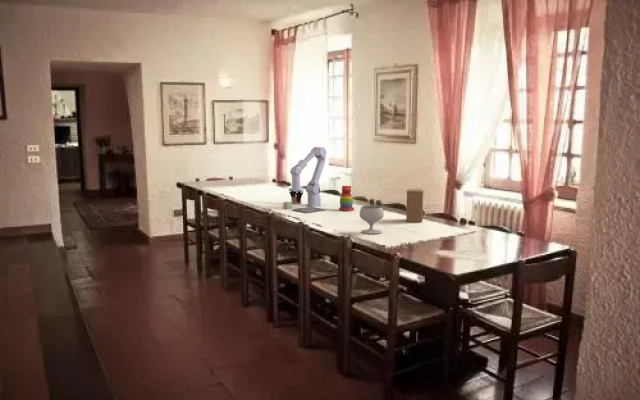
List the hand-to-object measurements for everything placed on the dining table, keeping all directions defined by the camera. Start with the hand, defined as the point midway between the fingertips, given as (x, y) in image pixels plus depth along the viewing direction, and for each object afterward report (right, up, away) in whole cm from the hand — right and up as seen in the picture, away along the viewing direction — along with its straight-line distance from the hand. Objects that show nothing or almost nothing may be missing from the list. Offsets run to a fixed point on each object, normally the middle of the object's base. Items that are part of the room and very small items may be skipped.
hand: (296, 201), depth 412 cm
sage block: (-6, -5, -5) cm, 9 cm away
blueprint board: (+9, -6, -11) cm, 16 cm away
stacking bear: (+36, -6, -11) cm, 38 cm away
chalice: (+47, -18, -85) cm, 99 cm away
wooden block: (+78, -12, -51) cm, 94 cm away
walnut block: (0, -2, 0) cm, 2 cm away
